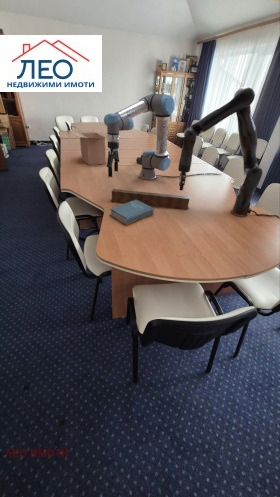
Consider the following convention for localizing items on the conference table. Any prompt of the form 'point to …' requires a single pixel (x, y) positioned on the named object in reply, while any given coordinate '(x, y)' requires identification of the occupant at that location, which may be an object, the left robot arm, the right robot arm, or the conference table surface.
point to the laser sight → (139, 159)
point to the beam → (151, 198)
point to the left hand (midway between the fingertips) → (113, 173)
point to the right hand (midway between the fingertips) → (180, 187)
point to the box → (92, 146)
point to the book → (131, 211)
